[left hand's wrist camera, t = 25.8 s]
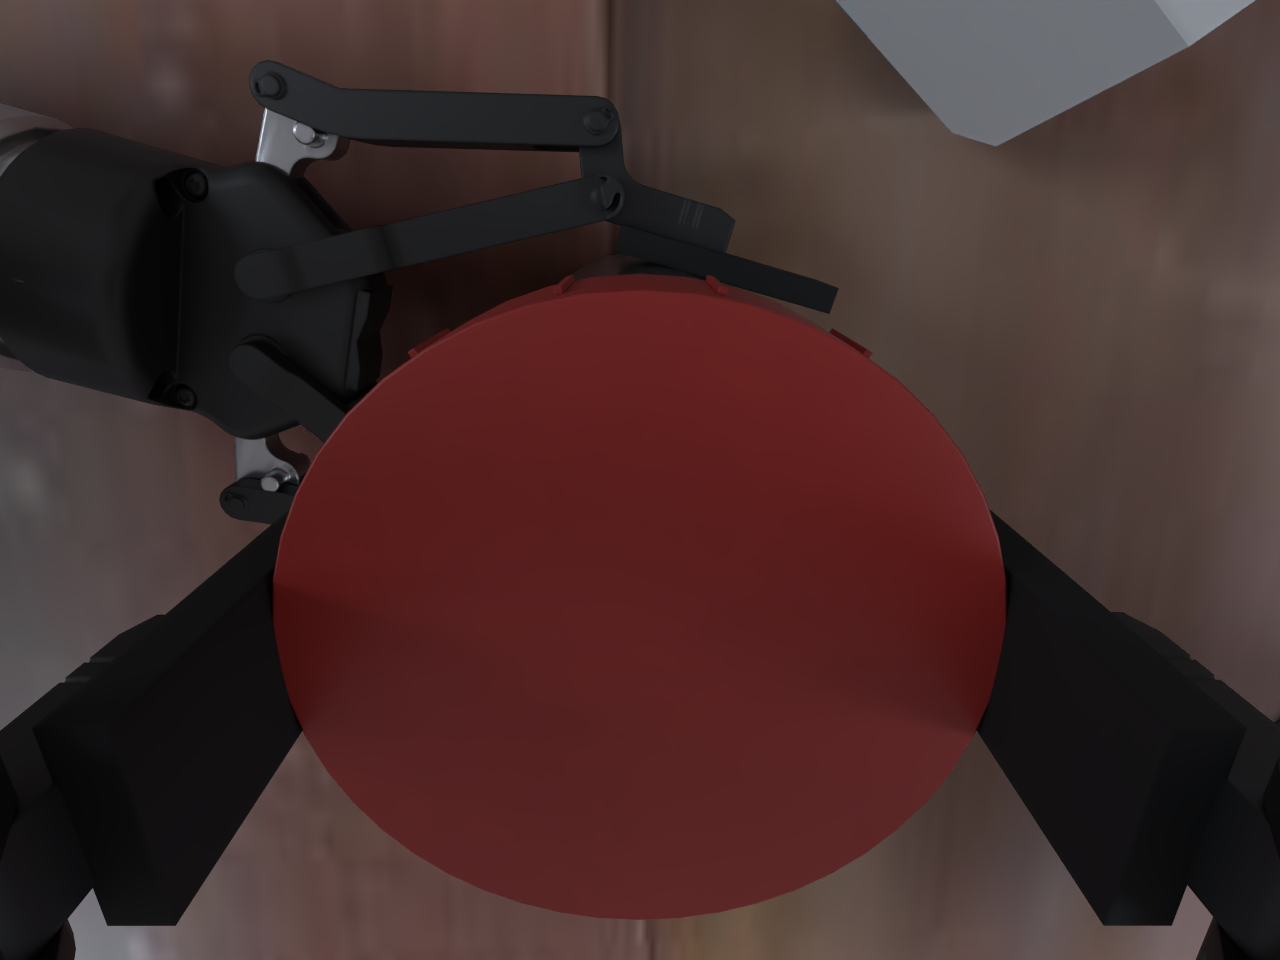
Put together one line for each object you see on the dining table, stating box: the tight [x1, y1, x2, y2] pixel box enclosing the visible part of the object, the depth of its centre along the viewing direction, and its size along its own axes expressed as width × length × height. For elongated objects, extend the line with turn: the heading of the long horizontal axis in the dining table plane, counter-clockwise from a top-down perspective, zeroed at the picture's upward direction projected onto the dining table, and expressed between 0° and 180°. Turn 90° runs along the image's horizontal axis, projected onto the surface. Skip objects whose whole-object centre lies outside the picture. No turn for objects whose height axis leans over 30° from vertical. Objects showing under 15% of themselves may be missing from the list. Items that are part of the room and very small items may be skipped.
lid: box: [272, 274, 1007, 920], centre depth 11 cm, size 10×10×2 cm
